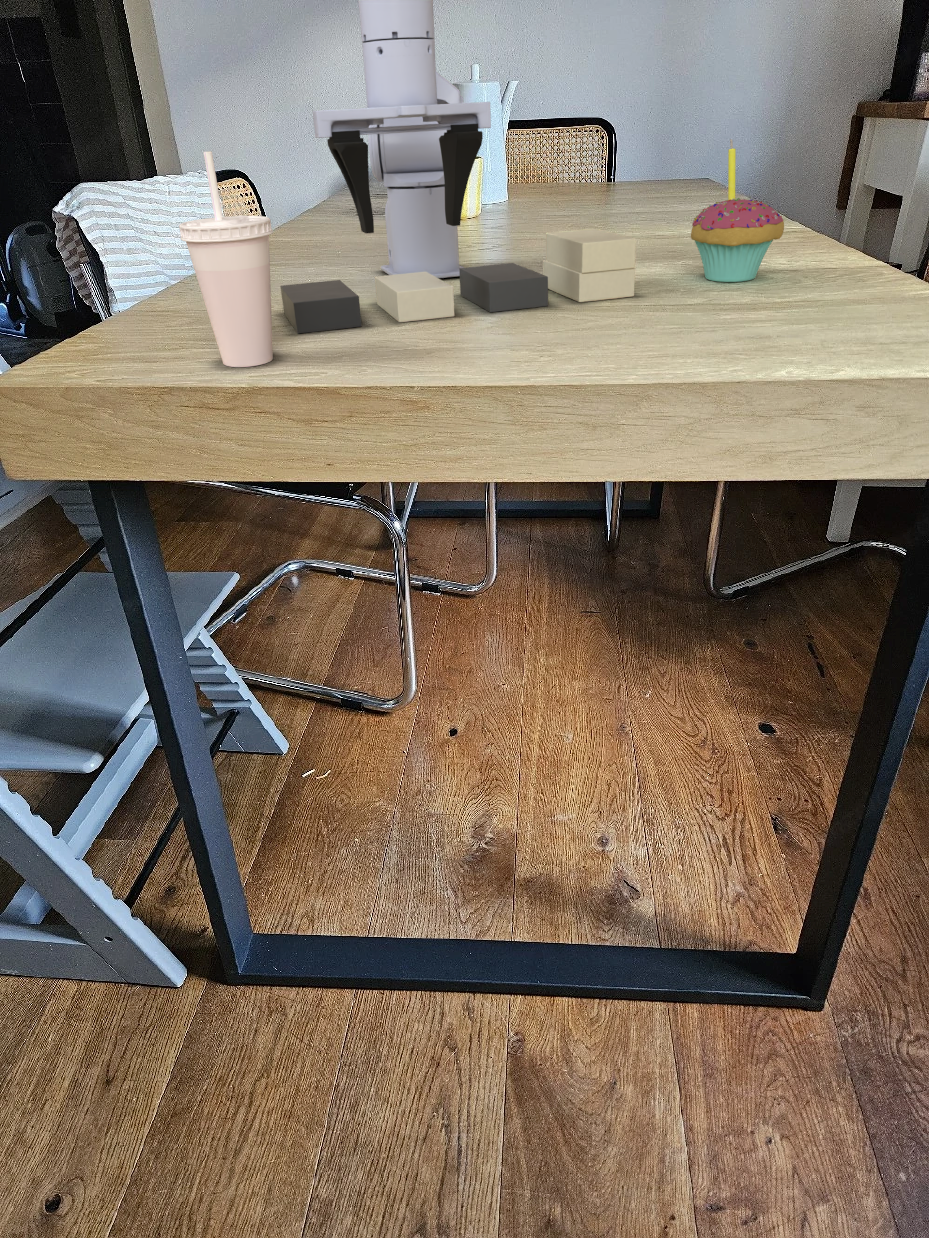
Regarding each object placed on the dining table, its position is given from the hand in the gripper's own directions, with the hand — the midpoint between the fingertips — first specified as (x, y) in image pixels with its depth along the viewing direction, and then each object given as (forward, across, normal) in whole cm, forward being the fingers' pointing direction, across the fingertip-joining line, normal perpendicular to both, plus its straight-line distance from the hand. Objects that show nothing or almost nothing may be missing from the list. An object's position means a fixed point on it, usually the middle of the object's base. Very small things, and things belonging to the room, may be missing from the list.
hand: (411, 228), depth 77 cm
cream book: (+7, 0, 0) cm, 7 cm away
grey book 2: (+7, +8, 0) cm, 11 cm away
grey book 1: (+7, -9, 0) cm, 11 cm away
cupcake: (+7, +32, -1) cm, 33 cm away
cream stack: (+7, +17, 0) cm, 18 cm away
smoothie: (+7, -16, -12) cm, 21 cm away
